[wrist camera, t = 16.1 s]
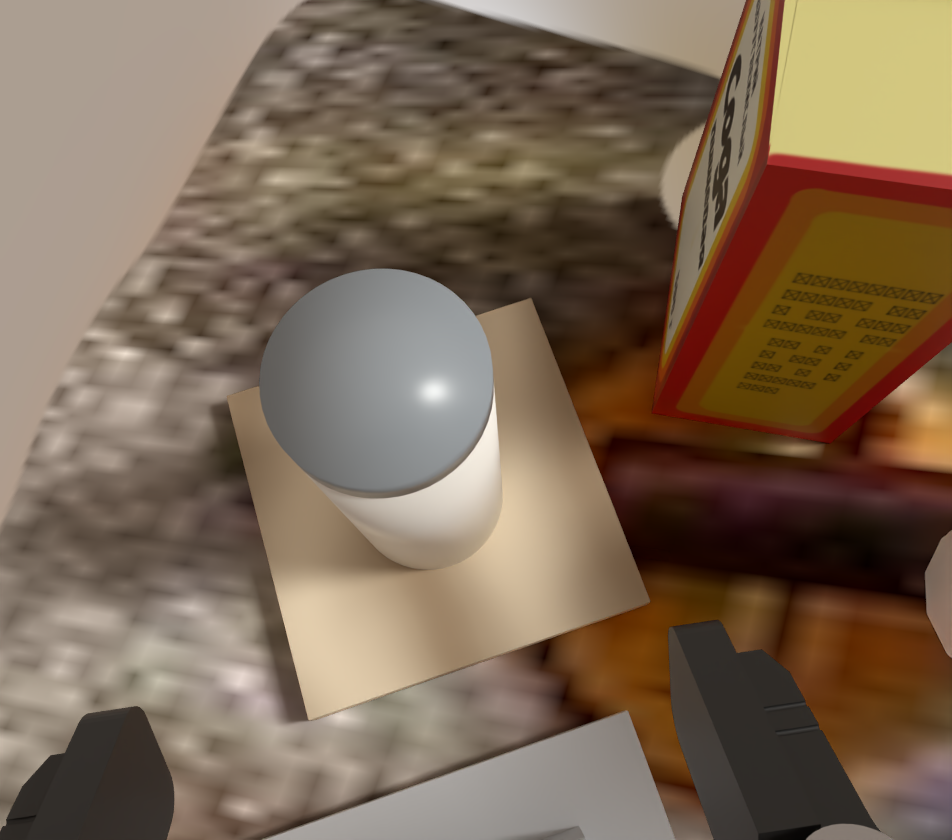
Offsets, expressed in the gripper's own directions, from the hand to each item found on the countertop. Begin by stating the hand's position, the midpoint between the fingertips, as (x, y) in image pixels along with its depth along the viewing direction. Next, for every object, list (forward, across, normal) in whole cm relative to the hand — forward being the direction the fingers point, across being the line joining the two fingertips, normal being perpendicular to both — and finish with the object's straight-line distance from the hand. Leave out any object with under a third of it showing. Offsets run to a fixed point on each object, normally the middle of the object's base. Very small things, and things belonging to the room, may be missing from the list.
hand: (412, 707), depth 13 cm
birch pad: (+17, 0, +7) cm, 18 cm away
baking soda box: (+21, -13, +3) cm, 25 cm away
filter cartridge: (+16, 0, +6) cm, 18 cm away
